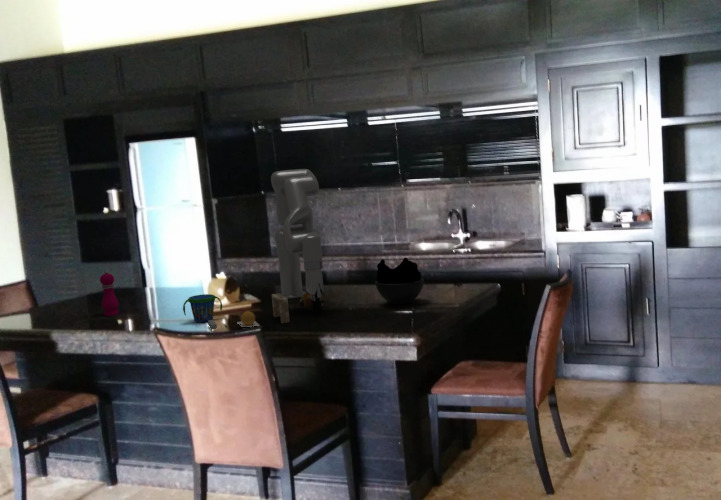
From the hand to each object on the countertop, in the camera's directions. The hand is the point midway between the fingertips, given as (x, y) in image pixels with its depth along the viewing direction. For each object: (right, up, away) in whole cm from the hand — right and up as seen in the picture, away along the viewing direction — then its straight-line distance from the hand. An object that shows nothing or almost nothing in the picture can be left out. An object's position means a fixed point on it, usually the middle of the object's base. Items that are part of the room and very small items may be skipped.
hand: (317, 310), depth 308 cm
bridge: (-14, -3, -5) cm, 15 cm away
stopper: (-40, -6, -12) cm, 42 cm away
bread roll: (-3, 0, +19) cm, 20 cm away
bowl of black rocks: (+34, +2, +8) cm, 35 cm away
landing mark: (-29, -5, -10) cm, 31 cm away
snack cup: (-46, -5, +3) cm, 47 cm away
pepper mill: (-93, -5, +31) cm, 98 cm away
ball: (-26, -2, -11) cm, 29 cm away
